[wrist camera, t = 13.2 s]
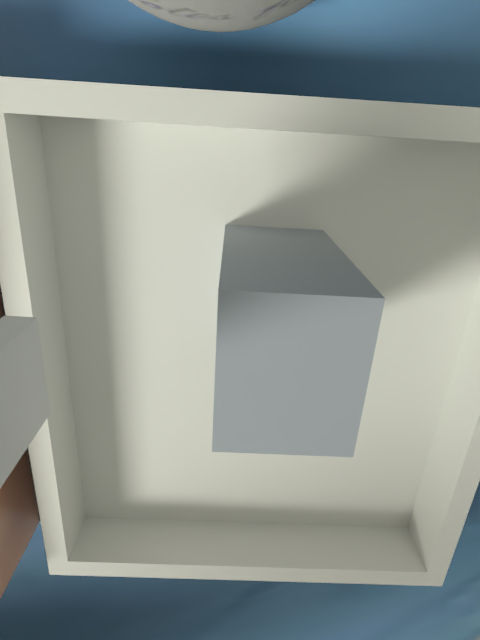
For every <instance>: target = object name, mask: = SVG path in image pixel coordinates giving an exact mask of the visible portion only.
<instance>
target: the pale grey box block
mask: <svg viewBox="0 0 480 640" xmlns="http://www.w3.org/2000/svg"><path fill="white" fill-rule="evenodd" d="M384 302H385V298H384V297H383V296H382V294H381V293H380V292H379V291H378V290H377V289H376V288H375V287H374V286H373V284H372V283H371V282H370V281H369V280H368V279H367V278H366V277H365V276H364V275H363V273H362V272H361V271H360V270H359V269H358V268H357V267H356V266H355V265H354V264H353V262H352V261H351V260H350V259H349V258H348V257H347V256H346V255H345V254H344V253H343V251H342V250H341V249H340V248H339V247H338V246H337V245H336V244H335V243H334V242H333V240H332V239H331V238H330V237H329V236H328V235H327V234H326V233H325V232H324V230H313V229H295V228H277V227H259V226H241V225H225V233H224V242H223V251H222V260H221V269H220V279H219V288H218V309H217V335H216V360H215V386H214V411H213V436H212V452H230V453H256V454H282V455H307V456H333V457H353V456H354V451H355V446H356V441H357V436H358V431H359V426H360V421H361V416H362V411H363V406H364V401H365V396H366V391H367V386H368V381H369V376H370V371H371V366H372V362H373V357H374V352H375V347H376V342H377V337H378V332H379V327H380V322H381V317H382V312H383V307H384Z"/></svg>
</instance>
